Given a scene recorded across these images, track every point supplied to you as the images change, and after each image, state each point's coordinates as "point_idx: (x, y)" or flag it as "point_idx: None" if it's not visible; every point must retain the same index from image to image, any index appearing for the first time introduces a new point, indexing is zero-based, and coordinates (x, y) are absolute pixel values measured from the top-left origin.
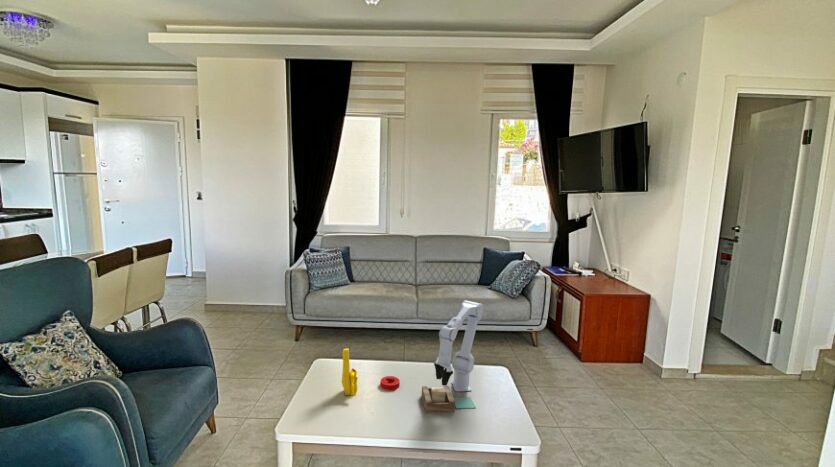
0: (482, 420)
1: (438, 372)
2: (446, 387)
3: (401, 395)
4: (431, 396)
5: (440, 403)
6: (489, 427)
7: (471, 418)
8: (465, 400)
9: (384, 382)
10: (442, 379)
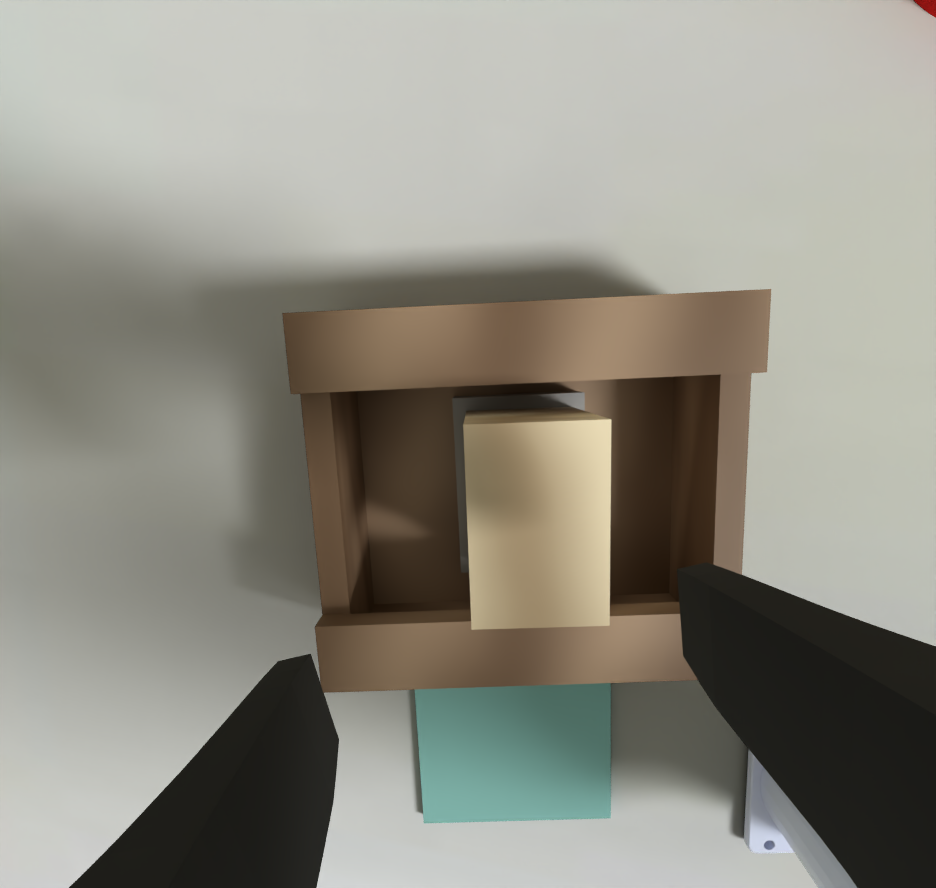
0: None
1: (831, 720)
2: None
3: (725, 48)
4: (535, 411)
5: (323, 502)
6: None
7: None
8: (554, 760)
9: None
10: (150, 804)
